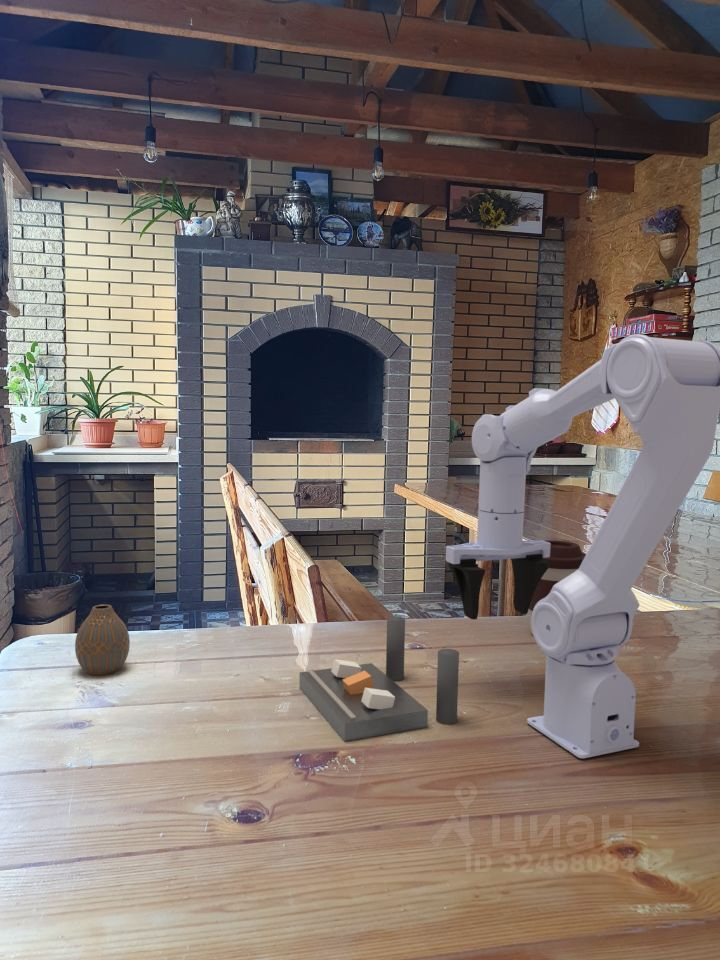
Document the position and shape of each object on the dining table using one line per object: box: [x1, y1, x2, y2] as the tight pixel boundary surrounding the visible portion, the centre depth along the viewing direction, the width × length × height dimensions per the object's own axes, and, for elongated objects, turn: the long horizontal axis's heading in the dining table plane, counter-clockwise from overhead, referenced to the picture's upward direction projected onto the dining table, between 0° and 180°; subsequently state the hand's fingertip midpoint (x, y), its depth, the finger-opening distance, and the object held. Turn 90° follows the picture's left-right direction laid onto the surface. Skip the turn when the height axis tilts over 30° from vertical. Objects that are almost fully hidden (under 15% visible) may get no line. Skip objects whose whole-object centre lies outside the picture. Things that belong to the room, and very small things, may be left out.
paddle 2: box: [361, 688, 395, 709], centre depth 80 cm, size 2×3×2 cm, turn 112°
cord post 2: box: [435, 648, 460, 725], centre depth 81 cm, size 2×2×8 cm
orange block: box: [342, 671, 374, 695], centre depth 84 cm, size 2×3×2 cm, turn 112°
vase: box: [74, 604, 131, 676], centre depth 95 cm, size 7×7×9 cm
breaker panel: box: [299, 662, 429, 742], centre depth 85 cm, size 16×10×2 cm, turn 22°
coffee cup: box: [529, 539, 587, 636], centre depth 113 cm, size 10×10×15 cm
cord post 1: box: [385, 616, 406, 682], centre depth 94 cm, size 2×2×8 cm
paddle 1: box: [331, 658, 361, 678], centre depth 89 cm, size 2×3×2 cm, turn 112°
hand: (496, 614), depth 91 cm, fingers open, 7 cm apart
